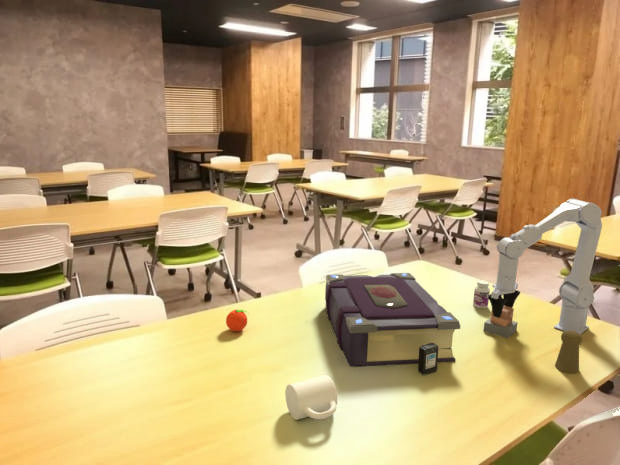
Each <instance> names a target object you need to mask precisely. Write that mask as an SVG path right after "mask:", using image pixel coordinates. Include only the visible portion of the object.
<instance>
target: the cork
mask: <svg viewBox="0 0 620 465" xmlns="http://www.w3.org/2000/svg"><path fill="white" fill-rule="evenodd" d="M560 339H561V345H560V349H559V352H558V353H557V354H558V355H557V358H556V361H555V364H554V366H555V369H557V370H558V371H560V372H562V373H566V374H569V375H572V374H573V375H574V374H575V375H577V374H579V372H580V346H581V345H582V343H583V336H582V334H579V333H577V332H575V331H563V332H562V333H561V335H560Z"/></svg>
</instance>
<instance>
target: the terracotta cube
mask: <svg viewBox="0 0 620 465" xmlns="http://www.w3.org/2000/svg"><path fill="white" fill-rule="evenodd" d="M514 311H515V309H514V308H513V307H512V308H511V307H508V306H504V307H503V310H502V314H501V317H500V318H497V317H494V316H493V311H492V310H491V313H490V318H491V319H490V321H491V322H493V323H496V324H499V325H502V326H504V327H505V326H507V325H508V324H510V323H512V321H513V318H514Z"/></svg>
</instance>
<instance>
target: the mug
mask: <svg viewBox="0 0 620 465" xmlns="http://www.w3.org/2000/svg"><path fill="white" fill-rule="evenodd" d="M284 392H285V394H284V395H285V403H286V407H287V409H288V412H289V414H290V416H291V417H292V419H294V420H298V421H299V420H301V419H304V418H311V419H315V420H323V419H327V418H329V417H331V416H332V415H334V413H335V412H336V411H337V405H338V392H337V388H336V385H335V383H334V381H333V379H332V378H331V377H330V376H329V375H327V374H324V375H319V376H317V377H316V376H315V377H312V378H309V379H308V378H307V379H304V380H300V381H297V382H294V383H289V384H287V385H286V387H285V390H284Z"/></svg>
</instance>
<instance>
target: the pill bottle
mask: <svg viewBox="0 0 620 465" xmlns="http://www.w3.org/2000/svg"><path fill="white" fill-rule="evenodd" d="M476 284H477V285H476V286H475V287H474V292H473V302H472V306H474V307H475V308H477V309H487V308H488V307H489V302H490V300H489V298H488V295H490V294H491V293H490V292H491V291H490V290H491V289H490V288H489V286H490V285H489V284H490V283H489V281H485V280H477V283H476Z"/></svg>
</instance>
